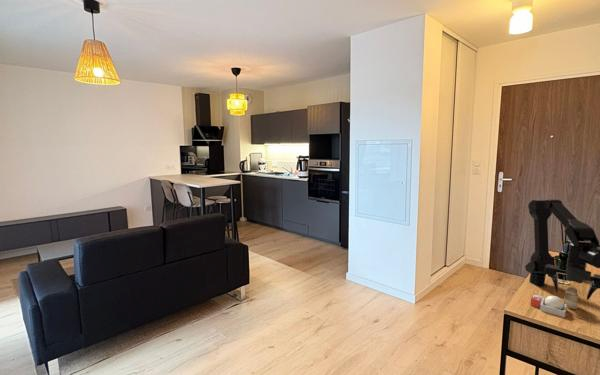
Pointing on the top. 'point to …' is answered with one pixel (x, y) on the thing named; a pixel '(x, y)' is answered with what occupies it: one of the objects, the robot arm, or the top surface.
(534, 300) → the red die
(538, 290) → the top surface
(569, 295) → the pawn
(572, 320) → the top surface
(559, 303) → the white ball
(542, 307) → the game board
